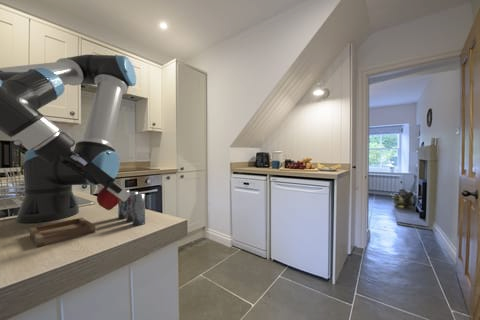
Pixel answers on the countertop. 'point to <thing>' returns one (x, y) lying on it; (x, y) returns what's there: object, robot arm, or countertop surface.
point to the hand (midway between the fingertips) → (122, 196)
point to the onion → (107, 199)
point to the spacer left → (122, 209)
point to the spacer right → (138, 209)
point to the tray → (61, 231)
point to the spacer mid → (130, 207)
